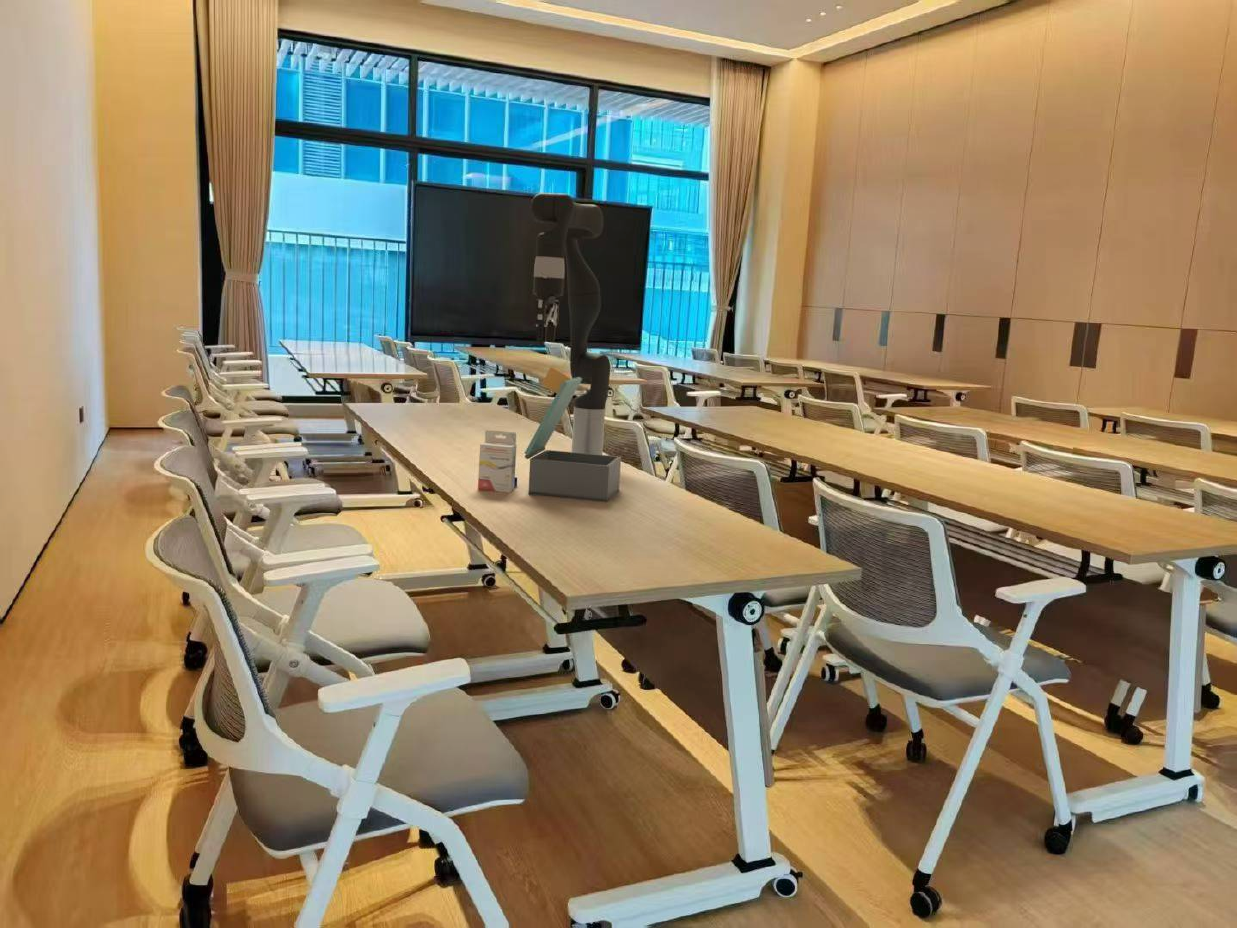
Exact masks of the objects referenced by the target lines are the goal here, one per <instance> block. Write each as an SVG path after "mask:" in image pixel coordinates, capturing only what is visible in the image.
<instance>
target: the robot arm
mask: <svg viewBox="0 0 1237 928" xmlns="http://www.w3.org/2000/svg"><path fill="white" fill-rule="evenodd" d="M529 209H530V214H531V216H532V218H533V219H534V220H535V221H536V222H538V223H542V224H550V225H551V224H552V225H555V227H554V228H553V229H552V230H549V231H545V232H540V233H538V235H537V236H536V242H535V245H536V246H535V247H536V248H535V259H534V267H533V268H534V269H533V285H532V286H533V287H532V289H533V290H532V293H533V295H535V296H539V297H540V298H539V299H535V308H534V321H533V324H534V325H535V326H536V327H537V328H536V329H537V330H536V343H538V344H539V343H541V344H542V343H543V344H545V343H546V342H551V343H554V342H555V340H556V339H555V338H556V328H557V325H559V323H560V321H559V319H560V318H559V317H560V316H559V315H560V314H559V313H560V301H559V300H556V297H563V296H564V289H565V287H564V286H565V272H566V274H567V275H566V276H567V297H568V300H567V301H568V311H569V313H568V314H569V324H570V325H569V327H570V347H569V348H570V349H569V351H570V353H569V354H570V355H569V369H570V370H569V371H570V376H571V378H572V379H573V378H577V377H580V378H582V381H581V382H580V384H582V385H590V387H589V390H588V392H586V393H584V394H582V395H577V396H575V398H574V403H573V419H572V423H573V424H572V437H571V438H572V439H571V440H572V441H571V452H576V453H586V454H597V455H603V451H604V436H605V435H604V434H605V419H606V418H605V415H606V414H605V413H606V403H607V400H608V395H609V387H610V385H609V384H610V376H611V362H610V359H609V357H608V356H607V355H606V354H604V353H597V352H596V353H595V352H588V338H589V333H590V331H591V328H592V327H593V326H594V324H595V322H596V320H597V318H598V316H599V314H600V312H601V306H602V300H601V299H602V298H601V287H600V286H601V285H600V283H599V281H598V279H597V277H596V275H595V273H594V272H593V271H592V270H591V268H590V267H589V265H588V263H587V262H586V261H585V259H584V257H583V255H582V253H581V251H580V246H579V241H578V239H595V238H598V237H600V236H601V234H602V232H603V230H604V216H603V211H602V209H601V208H600V206H599V205H596V204H592V203H591V204H590V203H589V204H586V203H584V204H582V203H578V202H575V201H574V200H573V198H572V197H571V195H569V194H567V193H555V192H540V193H536V194H535V195H534V196H533V198H532V199H531V201H530V208H529ZM565 261H566V271H565Z"/></svg>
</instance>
